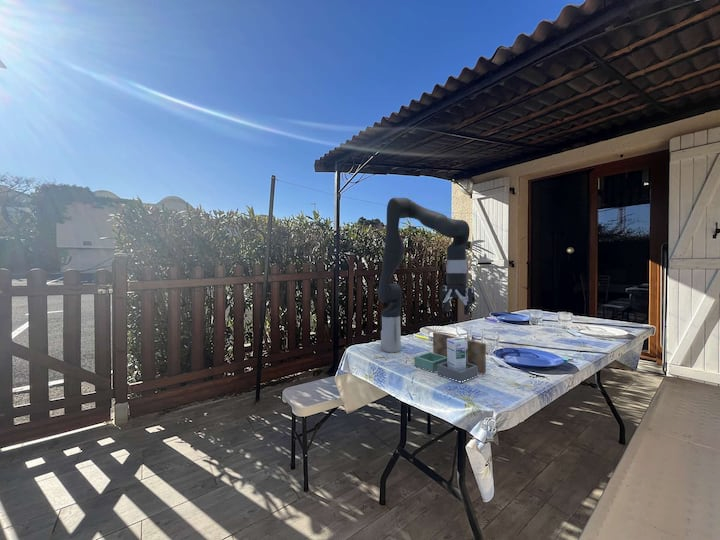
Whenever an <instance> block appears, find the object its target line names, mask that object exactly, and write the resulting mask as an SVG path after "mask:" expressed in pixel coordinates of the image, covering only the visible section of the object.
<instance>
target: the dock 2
mask: <svg viewBox="0 0 720 540" xmlns="http://www.w3.org/2000/svg"><path fill="white" fill-rule="evenodd" d="M437 374H438V375H437ZM436 375H437V376H439V375H441V376H440V377H442V376H445V377H448V378H451V379H454V380H457V381H461V382H462V381H464V380H467V379H470V378H472V377H475V376H477V375H478V376H479V373H478V366H477V365H474V364H470V363H468V368H467V369H465V370H462V371H458V370H455V369H452V368H449V367H447V361H446V362H443V363H441V364H438V365H437V371H436ZM478 376H477V377H478ZM445 377H444V378H445ZM475 378H476V377H475ZM472 379H473V378H472ZM470 380H471V379H470Z"/></svg>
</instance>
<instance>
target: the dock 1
mask: <svg viewBox="0 0 720 540" xmlns="http://www.w3.org/2000/svg"><path fill="white" fill-rule="evenodd" d="M413 359H414V367H416V366H417V368H419V367H421V368H420V369H422V368H424V369H426V370H425V371H427V370H429V371H428V372H430V371H432V372H431V373H435V371H436V372H437V365H438V364H441V363H443V362H446V361H447V357H445V356H442V355H439V354H435V353H433V351H432V352H431V351H429V352H425V353H423V354H420V355H418V354H417V355H416V356H414V358H413ZM424 369H423V370H424Z"/></svg>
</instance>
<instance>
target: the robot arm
mask: <svg viewBox="0 0 720 540" xmlns="http://www.w3.org/2000/svg"><path fill="white" fill-rule="evenodd" d="M407 218H408V219H414V220H417V221H418V222H419V223H420V224H422V225H423V226H424V227H427V228H429V229H431V230H434V231H437V232H438V233H439V234H441V235H442V236H444V237H446V238H450V239H452V243H451V244H449V245H448V246H447V248H446V267H445V268H446V270H445V271H446V284H447V285H440V288H439V289H440V291H439V293H440V294H439V300H440V301H442V302H443V303H444V311H445V312H446V313H449V312H450V311H451V300H452V299H453V298H456V299H460V301H462V303H463V304H464V305H463V315H464V316H468V315H470V313H471V305H472V304H475V303H476V296H475V295H476V293H475V288H474V287H467V283H468V266H467V246H468V242H469V239H470V230H471V229H470V225H469V224H468V222H467V221H465V220H463V219H453V218H451V217H450V218H449V217H447V216H446V215H445V214H443V213H441V212H437V211H434V210H432V209H429V208H426V207H424V206H422V205H420V204H418V203H416V202H415V201H413V200H411V199H410V198H407V197H392V198H390V199H389V201H388V203H387V205H386V228H385V231H386V232H385V242H384V246H383V247H384V249H383V257H382V268H381V273H380V279H379V284H378V290H377V297H378V301H379V302H380V303H382V304H388V303H390V304H389V306H387V307H386V308H384V309H382V310H381V330H380V348H381V350H382V351H383V352H385V353H397V352H401V350H402V343H401V342H402V341H401V339H402V338H401V337H402V336H401V313H402V288H401V286H400V284H399V283H390V282H391V279H392V276H393V274H394V273H395V272H396V270H398V268H399V266H400V265H401V264H402V261H403V258H404V251H405V246H404V245H405V244H404V241H403V239H402V236H401V234H400V229H399V227H400V219H407Z"/></svg>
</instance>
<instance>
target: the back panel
mask: <svg viewBox="0 0 720 540" xmlns="http://www.w3.org/2000/svg"><path fill="white" fill-rule="evenodd" d="M457 337H458V336H454V335H450V334H445V333H442V332H437V331H434V332H432V347H433V349H432V353H435V354H439V355H442V356H445V357H447V338H457ZM465 339H466V340H467V345H468V363H470V364H474V365H477V366H478V372H479V373H478V374H481V373H482V374H481V375H486V374H485V373H486V372H487V361H486V360H487V358H486V357H487V356H486V355H487V353H486V352H487V351H486V349H487V347H486V346H487V345H486V343H484V342H481V341H478V340H477V341H476V340H471V339H467V338H465Z"/></svg>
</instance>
